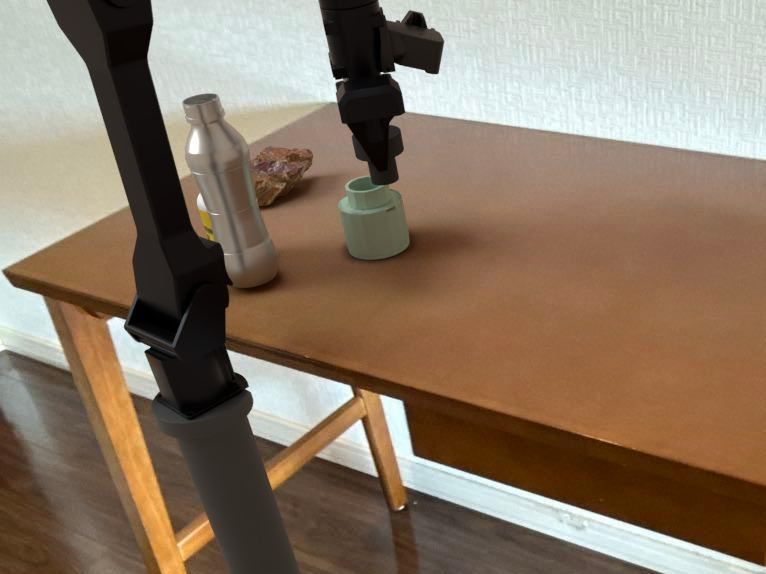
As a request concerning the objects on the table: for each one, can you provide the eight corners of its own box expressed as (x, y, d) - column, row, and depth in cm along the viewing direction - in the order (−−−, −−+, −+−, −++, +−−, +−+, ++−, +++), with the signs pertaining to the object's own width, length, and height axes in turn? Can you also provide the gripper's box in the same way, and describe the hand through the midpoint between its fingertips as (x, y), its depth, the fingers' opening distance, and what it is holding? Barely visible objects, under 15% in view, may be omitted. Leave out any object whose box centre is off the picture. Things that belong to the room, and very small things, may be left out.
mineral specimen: (261, 161, 140) (273, 118, 135) (310, 192, 140) (323, 150, 136) (214, 196, 131) (224, 152, 127) (266, 228, 132) (278, 186, 127)
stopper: (382, 193, 108) (372, 146, 104) (352, 183, 110) (341, 137, 107) (418, 176, 110) (410, 129, 107) (388, 167, 113) (379, 121, 110)
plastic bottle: (221, 277, 117) (163, 97, 104) (279, 263, 119) (229, 83, 105) (228, 300, 112) (169, 115, 99) (289, 285, 114) (238, 101, 101)
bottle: (375, 265, 116) (361, 201, 111) (336, 250, 120) (321, 188, 115) (422, 241, 119) (411, 178, 115) (382, 227, 123) (370, 166, 119)
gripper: (443, 12, 92) (468, 180, 103) (419, -31, 106) (443, 121, 117) (321, 32, 91) (358, 200, 102) (313, -15, 105) (346, 137, 116)
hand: (380, 161), depth 109 cm, fingers closed on stopper, 5 cm apart
